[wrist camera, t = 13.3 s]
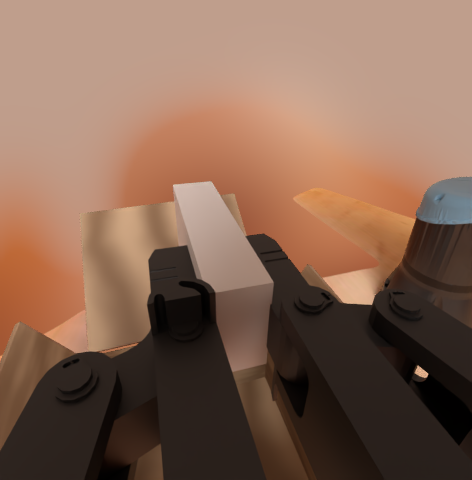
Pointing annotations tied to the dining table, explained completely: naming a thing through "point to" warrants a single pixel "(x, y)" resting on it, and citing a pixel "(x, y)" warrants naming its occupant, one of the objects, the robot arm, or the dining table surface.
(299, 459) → the shipping carton
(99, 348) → the carton flap
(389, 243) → the dining table surface
